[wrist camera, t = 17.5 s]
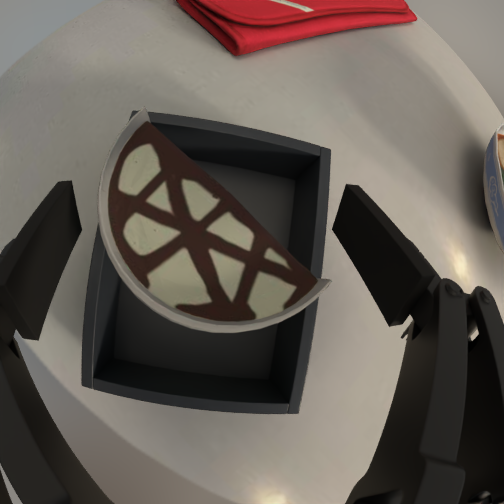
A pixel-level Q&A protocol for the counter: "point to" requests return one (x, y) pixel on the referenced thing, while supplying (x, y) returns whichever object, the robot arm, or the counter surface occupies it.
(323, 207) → the bin
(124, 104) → the counter surface
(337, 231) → the robot arm
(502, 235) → the ramen bowl
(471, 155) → the counter surface
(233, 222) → the halved ice cream tub
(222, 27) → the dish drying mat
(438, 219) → the counter surface
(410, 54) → the counter surface
